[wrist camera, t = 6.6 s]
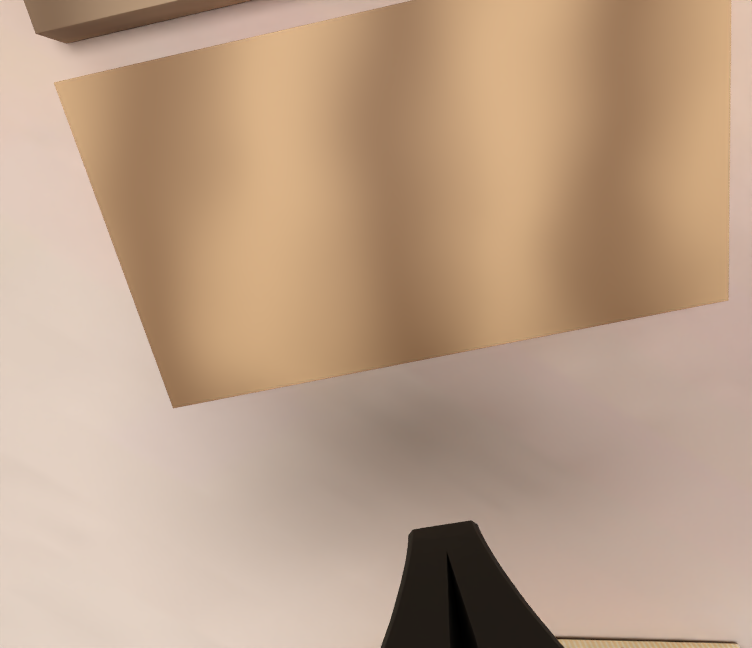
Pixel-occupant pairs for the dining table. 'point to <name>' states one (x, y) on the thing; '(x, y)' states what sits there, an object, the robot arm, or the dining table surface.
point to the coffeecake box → (640, 644)
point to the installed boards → (108, 15)
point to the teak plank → (412, 183)
